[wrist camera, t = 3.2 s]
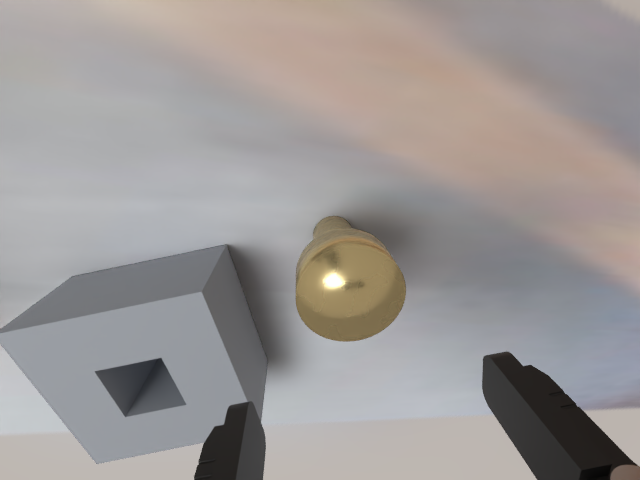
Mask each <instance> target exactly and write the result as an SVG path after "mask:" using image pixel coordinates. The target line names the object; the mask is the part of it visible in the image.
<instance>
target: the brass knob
mask: <svg viewBox="0 0 640 480" xmlns="http://www.w3.org/2000/svg"><path fill="white" fill-rule="evenodd" d="M313 238H314V240H313V241H312V242H311V243H310V244H308V245H307V247H306V248H305V249H304V250H303V252H302V254H301V255H300V258H299V260H298V263H297V267H296V305H297V310H298V313H299V315H300V317H301V319H302V320H303V322H304V323H305V324H306V325H307V326H308V327H309V328H310V329H311V330H312V331H313V332H315V333H316V334H318V335H320V336H322V337H325V338H327V339H331V340H336V341H357V340H362V339H365V338H368V337H371V336H373V335H375V334H377V333H379V332H381V331H382V330H384V329H385V328H386V327H388V326H389V325H390V324H391V323H392V322H393V321H394V320H395V318H396V317H397V316H398V314H399V312H400V311H401V309H402V306H403V304H404V300H405V295H406V285H405V280H404V277H403V274H402V272H401V271H400V269H399V267H398V266H397V264H396V263H395V261H394V260H393V258H392V257H391V255H390V253H389V252H388V250H387V249H386V247H385V246H384V245H383V243H382V242H381V241H380V240H379V239H377V238H376V237H375V236H373V235H371V234H369V233H367V232H365V231H362V230H358V229H352V228H351V226H350V224H349V223H348V222H347V221H346V220H345V219H343V218H341V217H338V216H329V217H326V218H324V219H322V220H321V221H320V222H319V223H318V224H317V225H316V227H315V229H314V232H313Z"/></svg>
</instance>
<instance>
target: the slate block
mask: <svg viewBox="0 0 640 480" xmlns="http://www.w3.org/2000/svg"><path fill="white" fill-rule="evenodd" d="M0 344H1V346H2V347H3V348H4V349H5V350H6V352H7V353H8V354H9V355H10V357H11V358H12V359H13V360H14V362H15V363H16V364H17V365H18V367H19V368H20V369H21V370H22V372H23V373H24V374H25V375H26V377H27V378H28V379H29V380H30V382H31V383H32V384H33V385H34V387H35V388H36V389H37V390H38V392H39V393H40V394H41V395H42V397H43V398H44V399H45V400H46V402H47V403H48V404H49V405H50V407H51V408H52V409H53V410H54V412H55V413H56V414H57V415H58V417H59V418H60V419H61V420H62V422H63V423H64V424H65V425H66V426H67V428H68V429H69V430H70V431H71V433H72V434H73V435H74V436H75V438H76V439H77V440H78V441H79V443H80V444H81V445H82V446H83V448H84V449H85V450H86V451H87V453H88V454H89V455H90V456H91V457H92V459H93V460H94V461H95V462H96V464H99V463H104V462H109V461H114V460H119V459H124V458H129V457H134V456H139V455H144V454H149V453H154V452H159V451H164V450H169V449H174V448H179V447H184V446H189V445H194V444H199V443H204V442H205V441H206V439H207V437H208V436H209V434H210V433H211V431H212V430H213V428H214V426H219V425H224V421H225V417H226V413H227V409H228V407H229V406H230V405H234V404H239V403H244V402H249V401H252V402H253V403H254V406H255V408H256V411H257V414H258V416H259V419H260V422H261V417H262V409H263V400H264V391H265V383H266V374H267V365H268V361H267V358H266V355H265V352H264V349H263V347H262V344H261V341H260V338H259V335H258V332H257V330H256V327H255V324H254V321H253V318H252V315H251V313H250V310H249V307H248V304H247V301H246V298H245V295H244V293H243V290H242V287H241V284H240V281H239V278H238V276H237V273H236V270H235V267H234V264H233V261H232V259H231V256H230V253H229V250H228V247H227V244H226V245H221V246H217V247H212V248H207V249H202V250H197V251H193V252H188V253H183V254H178V255H173V256H169V257H164V258H159V259H154V260H149V261H145V262H140V263H135V264H130V265H125V266H121V267H116V268H111V269H106V270H101V271H97V272H92V273H87V274H82V275H77V276H73V277H71V278H69V279H68V280H67V281H65V282H64V283H63V284H61V285H60V286H59V287H57V288H56V289H55V290H53V291H52V292H50V293H49V294H48V295H46V296H45V297H44V298H42V299H41V300H40V301H38V302H37V303H36V304H34V305H33V306H31V307H30V308H29V309H27V310H26V311H25V312H23V313H22V314H21V315H19V316H18V317H16V318H15V319H14V320H12V321H11V322H10V323H8V324H7V325H6V326H4V327H3V328H2V329H0Z"/></svg>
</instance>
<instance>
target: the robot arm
mask: <svg viewBox="0 0 640 480" xmlns="http://www.w3.org/2000/svg"><path fill="white" fill-rule="evenodd" d="M482 389H483V394H484V397H485V400H486V402H487V404H488V406H489V408H490V409H491V411H492V412H493V414H494V415H495V417H496V418H497V420H498V421H499V423H500V424H501V425H502V427H503V429H504V430H505V432H506V433H507V435H508V436H509V438H510V439H511V441H512V442H513V444H514V445H515V447H516V448H517V450H518V451H519V453H520V454H521V456H522V457H523V459H524V460H525V462H526V463H527V465H528V466H529V468H530V469H531V471H532V472H533V474H534V475H535V477H536V478H537V480H640V467H639V466H638V465H637V464H635V463H634V462H633V461H632V460H631V459H629V457H628V456H626V454H624V452H622V450H621V449H619V447H618V446H617V445H616V444H615V443H614V442H613V441H612V440H611V439H610V438H609V437H608V436H607V435H606V434H605V433H604V432H603V431H602V430H601V429H600V428H599V427H598V426H597V425H596V424H595V423H594V422H593V421H592V420H591V419H590V418H589V417H588V416H587V414H586V413H585V412H584V411H583V410H582V409H581V408H580V407H577V406H576V403H575V402H574V401H573V400H572V399H571V398H570V397H569V396H568V395H567V394H565V393H564V391H563V390H562V389H561V388H560V387H559V386H558V385H557V384H556V383H555V382H554V381H553V380H552V379H551V378H550V377H549V376H548V375H546V374H545V373H543V372H541V371H540V370H538V369H537V368H535V367H533V366H532V365H528V366H522V365H521V363H520V362H519V361H518V360H517V359H516V358H515V357H514V356H513V355H512V354H511V353H509V352H502V353H497V354H492V355H486V356H484V358H483V380H482ZM265 444H266V443H265V434H264V430H263V427H262V424H261V422H260V419H259V416H258V414H257V411H256V408H255V406H254V403H253V402H252V401H249V402H244V403H239V404H234V405H230V406H229V407H228V409H227V413H226V417H225V421H224V425H219V426H214V428H213V430H212V431H211V433H210V434H209V436H208V437H207V439H206V441H205V442H204V445H203V448H202V452H201V455H200V459H199V465H198V466H197V470H196V473H195V476H194V480H263V471H264V461H265V449H266V445H265Z"/></svg>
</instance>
